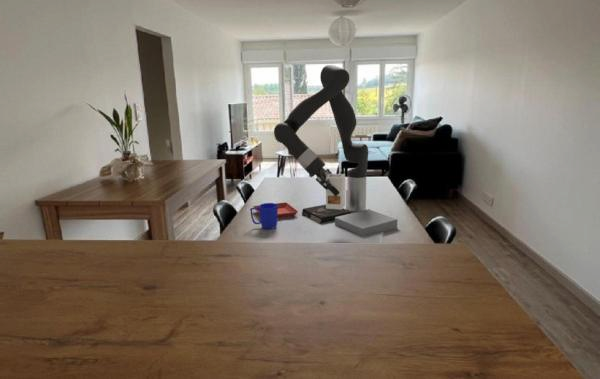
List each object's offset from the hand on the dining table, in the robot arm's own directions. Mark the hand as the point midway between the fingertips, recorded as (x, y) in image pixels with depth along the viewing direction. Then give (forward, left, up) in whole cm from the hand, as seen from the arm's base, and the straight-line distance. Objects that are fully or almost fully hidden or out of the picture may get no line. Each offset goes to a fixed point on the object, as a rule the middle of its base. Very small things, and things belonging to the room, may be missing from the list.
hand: (339, 192), depth 150 cm
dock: (-1, +15, -18) cm, 24 cm away
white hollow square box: (-1, -1, -6) cm, 6 cm away
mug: (-27, -21, -19) cm, 39 cm away
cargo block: (-1, -1, -5) cm, 6 cm away
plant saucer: (-41, -8, -19) cm, 46 cm away
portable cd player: (-22, +9, -19) cm, 31 cm away
